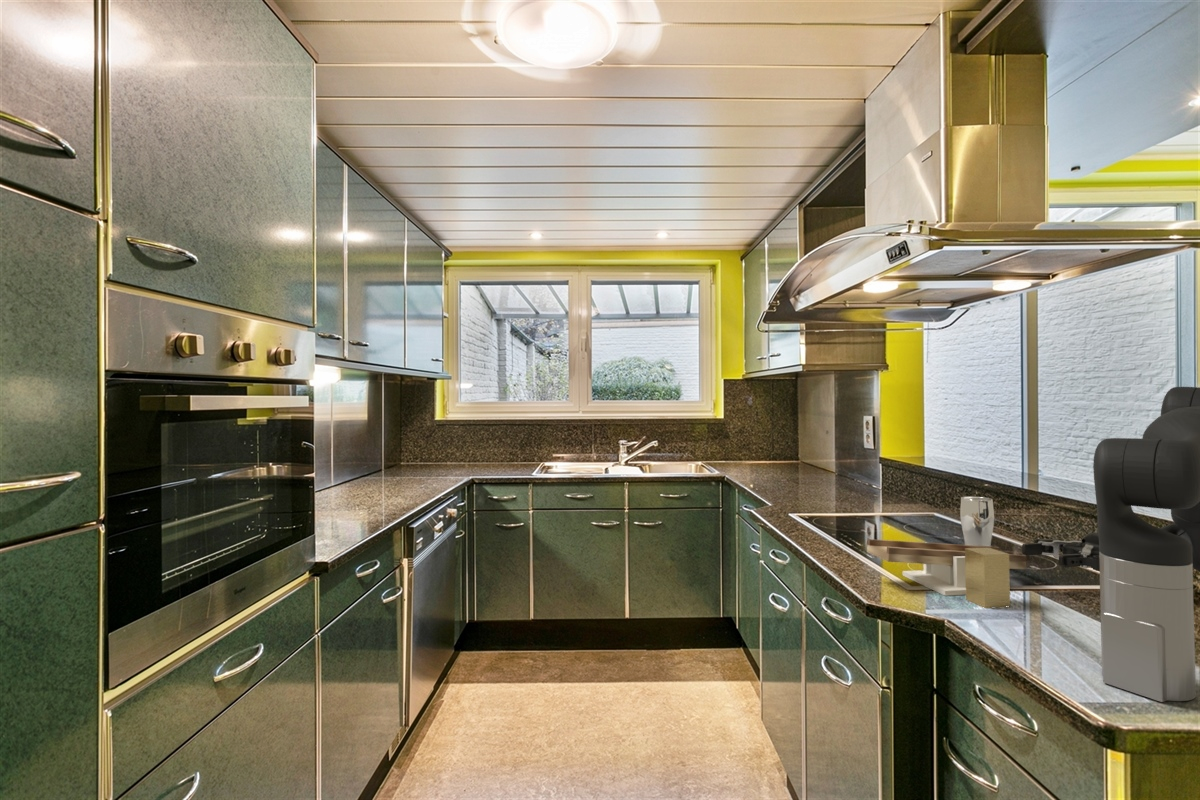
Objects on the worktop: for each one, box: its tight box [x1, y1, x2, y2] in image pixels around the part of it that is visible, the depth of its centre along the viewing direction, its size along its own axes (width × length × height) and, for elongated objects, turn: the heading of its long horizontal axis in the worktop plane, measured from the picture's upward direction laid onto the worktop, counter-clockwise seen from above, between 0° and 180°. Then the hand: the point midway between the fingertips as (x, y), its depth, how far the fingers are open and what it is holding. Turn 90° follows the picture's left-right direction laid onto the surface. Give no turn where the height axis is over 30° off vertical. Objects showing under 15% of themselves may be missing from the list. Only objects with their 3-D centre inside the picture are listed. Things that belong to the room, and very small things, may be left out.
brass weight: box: [965, 548, 1011, 609], centre depth 111 cm, size 5×5×10 cm
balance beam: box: [866, 538, 1028, 570], centre depth 123 cm, size 30×8×3 cm, turn 95°
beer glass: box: [959, 495, 995, 547], centre depth 142 cm, size 7×7×15 cm
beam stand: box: [902, 556, 966, 597], centre depth 123 cm, size 10×14×7 cm
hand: (1041, 555), depth 112 cm, fingers open, 8 cm apart
